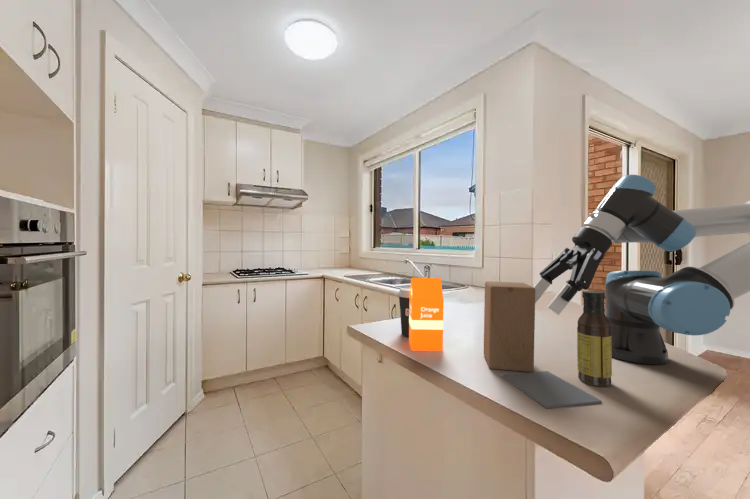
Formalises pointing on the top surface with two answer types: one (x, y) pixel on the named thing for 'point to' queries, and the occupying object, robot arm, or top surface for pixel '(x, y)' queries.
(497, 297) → the wooden block
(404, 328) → the coffee cup
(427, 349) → the orange juice
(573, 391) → the mat
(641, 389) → the top surface
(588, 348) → the sauce bottle
